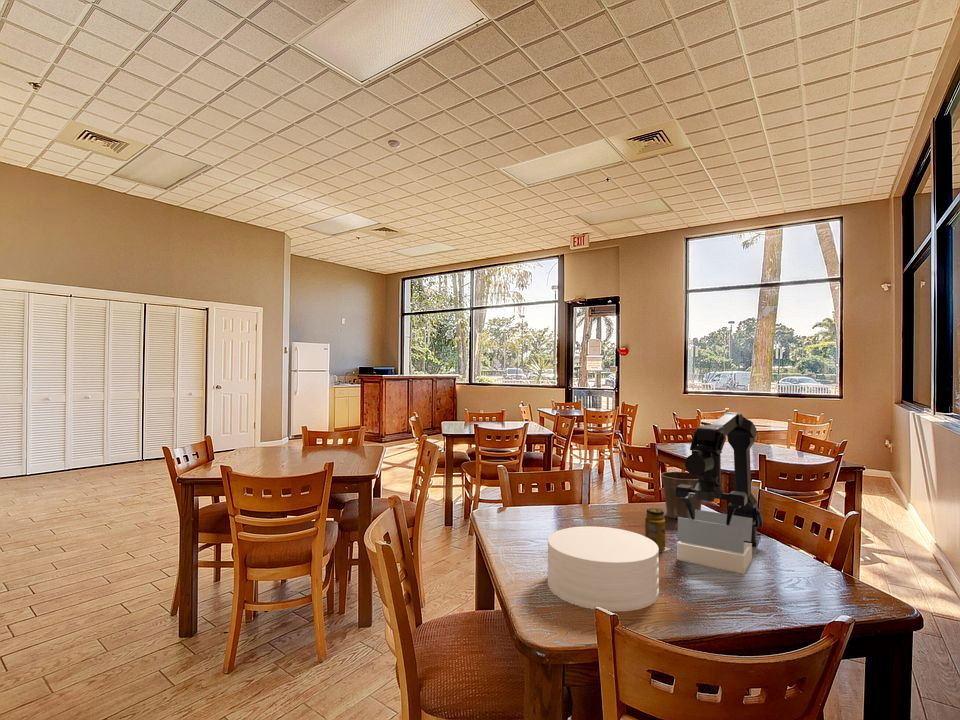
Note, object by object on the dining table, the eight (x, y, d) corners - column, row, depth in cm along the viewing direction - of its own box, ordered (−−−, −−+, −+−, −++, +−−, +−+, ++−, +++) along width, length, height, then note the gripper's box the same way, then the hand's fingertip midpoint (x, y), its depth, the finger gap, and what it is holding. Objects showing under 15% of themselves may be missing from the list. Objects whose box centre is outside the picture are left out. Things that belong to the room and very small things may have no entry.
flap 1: (743, 553, 141) (743, 553, 141) (678, 540, 152) (677, 540, 151) (743, 527, 142) (743, 528, 141) (678, 516, 152) (677, 517, 152)
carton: (688, 547, 162) (688, 532, 162) (751, 560, 151) (751, 543, 151) (677, 559, 151) (677, 542, 151) (744, 574, 141) (744, 556, 141)
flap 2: (688, 530, 161) (688, 530, 162) (750, 541, 151) (750, 541, 151) (691, 508, 164) (691, 509, 165) (752, 518, 154) (752, 518, 154)
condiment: (671, 549, 161) (671, 511, 161) (654, 554, 156) (653, 515, 156) (652, 542, 167) (652, 505, 167) (634, 547, 162) (634, 509, 162)
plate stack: (683, 596, 127) (682, 549, 127) (598, 622, 113) (598, 570, 114) (604, 560, 151) (604, 521, 152) (526, 578, 138) (526, 535, 138)
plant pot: (652, 512, 204) (652, 471, 204) (689, 510, 207) (689, 470, 207) (675, 524, 188) (675, 480, 188) (714, 521, 191) (714, 478, 191)
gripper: (668, 471, 147) (669, 525, 146) (740, 479, 136) (741, 538, 135) (679, 465, 156) (679, 516, 155) (747, 472, 145) (748, 527, 144)
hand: (710, 524), depth 147 cm, fingers open, 9 cm apart
